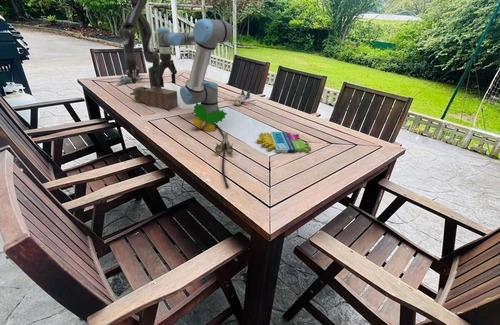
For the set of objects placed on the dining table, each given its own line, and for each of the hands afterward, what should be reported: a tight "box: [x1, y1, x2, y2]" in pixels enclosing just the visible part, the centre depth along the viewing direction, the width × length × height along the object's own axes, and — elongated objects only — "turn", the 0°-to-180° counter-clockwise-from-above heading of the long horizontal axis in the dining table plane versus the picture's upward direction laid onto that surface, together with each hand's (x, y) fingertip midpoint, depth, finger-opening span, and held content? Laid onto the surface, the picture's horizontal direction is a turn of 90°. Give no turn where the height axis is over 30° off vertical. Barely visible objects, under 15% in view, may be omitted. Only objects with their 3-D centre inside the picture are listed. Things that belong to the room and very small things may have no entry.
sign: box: [256, 131, 312, 154], centre depth 152 cm, size 26×2×30 cm
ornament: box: [191, 102, 228, 132], centre depth 162 cm, size 21×8×15 cm, turn 105°
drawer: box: [129, 85, 150, 104], centre depth 200 cm, size 25×10×10 cm, turn 69°
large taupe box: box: [144, 87, 179, 111], centre depth 196 cm, size 21×11×12 cm, turn 69°
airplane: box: [114, 66, 148, 87], centre depth 254 cm, size 38×31×10 cm
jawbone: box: [214, 131, 234, 156], centre depth 136 cm, size 9×15×10 cm
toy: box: [223, 89, 257, 106], centre depth 219 cm, size 28×7×30 cm
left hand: (134, 83), depth 199 cm, fingers closed
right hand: (168, 85), depth 188 cm, fingers open, 13 cm apart
